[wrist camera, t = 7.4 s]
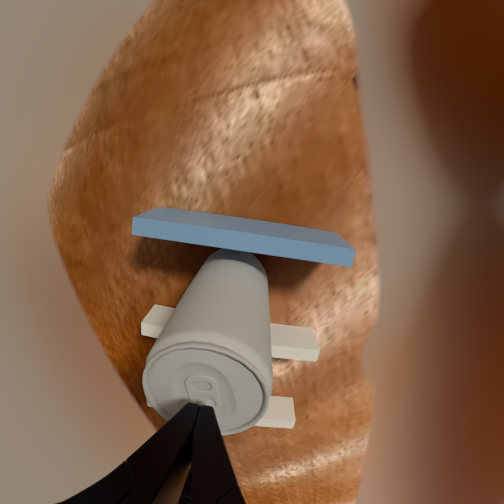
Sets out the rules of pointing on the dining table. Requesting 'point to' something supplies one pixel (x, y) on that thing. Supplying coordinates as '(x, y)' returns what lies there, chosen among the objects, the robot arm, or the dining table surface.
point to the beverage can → (216, 345)
